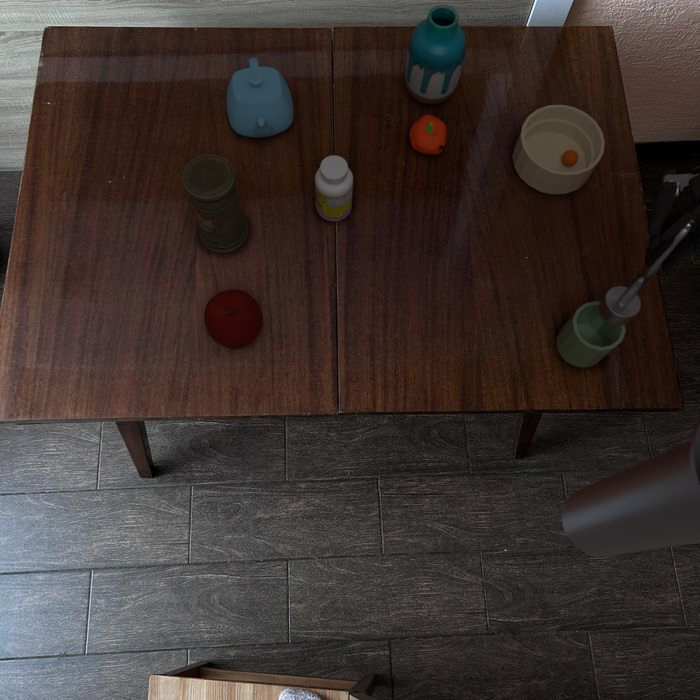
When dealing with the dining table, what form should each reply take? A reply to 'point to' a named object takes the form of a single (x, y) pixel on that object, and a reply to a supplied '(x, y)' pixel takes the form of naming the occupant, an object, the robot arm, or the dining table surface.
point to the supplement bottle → (333, 188)
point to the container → (215, 203)
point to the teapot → (259, 101)
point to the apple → (233, 319)
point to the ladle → (635, 287)
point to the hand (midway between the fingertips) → (656, 259)
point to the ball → (570, 158)
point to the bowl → (557, 149)
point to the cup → (588, 336)
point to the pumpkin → (428, 135)
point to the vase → (435, 56)
